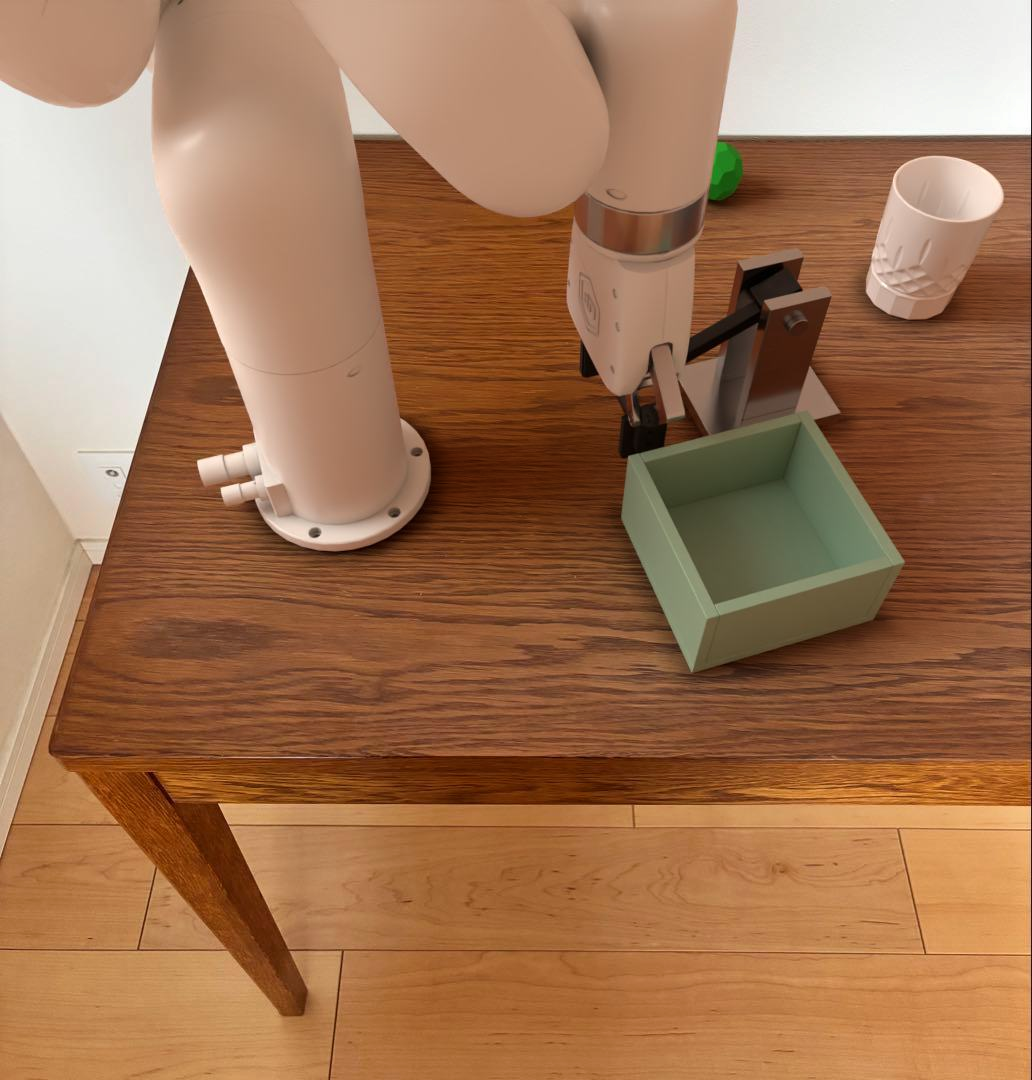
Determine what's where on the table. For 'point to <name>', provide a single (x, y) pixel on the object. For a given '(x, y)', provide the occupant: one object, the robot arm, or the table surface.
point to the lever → (738, 317)
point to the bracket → (763, 357)
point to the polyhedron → (725, 171)
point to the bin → (755, 539)
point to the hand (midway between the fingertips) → (620, 408)
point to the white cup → (930, 234)
